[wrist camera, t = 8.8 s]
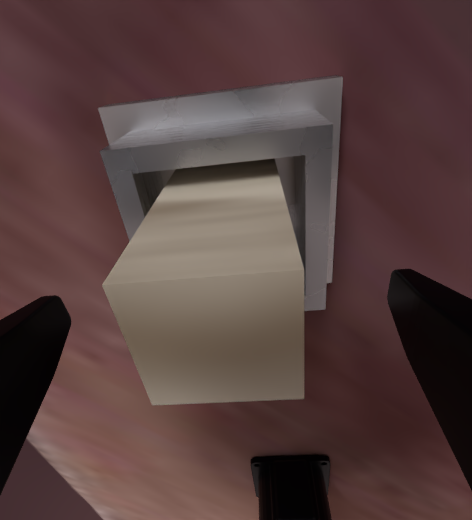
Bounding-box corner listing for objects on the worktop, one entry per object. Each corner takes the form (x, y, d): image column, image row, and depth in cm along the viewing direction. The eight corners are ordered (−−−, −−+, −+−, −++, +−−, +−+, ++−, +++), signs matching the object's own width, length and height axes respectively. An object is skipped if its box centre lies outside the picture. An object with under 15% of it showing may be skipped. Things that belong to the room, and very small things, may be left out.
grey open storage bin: (327, 271, 17) (347, 325, 14) (161, 284, 18) (140, 338, 14) (336, 75, 12) (370, 83, 9) (107, 104, 13) (58, 121, 10)
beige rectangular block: (278, 244, 15) (304, 398, 8) (194, 251, 15) (152, 404, 9) (274, 157, 13) (304, 269, 6) (176, 168, 13) (102, 284, 6)
